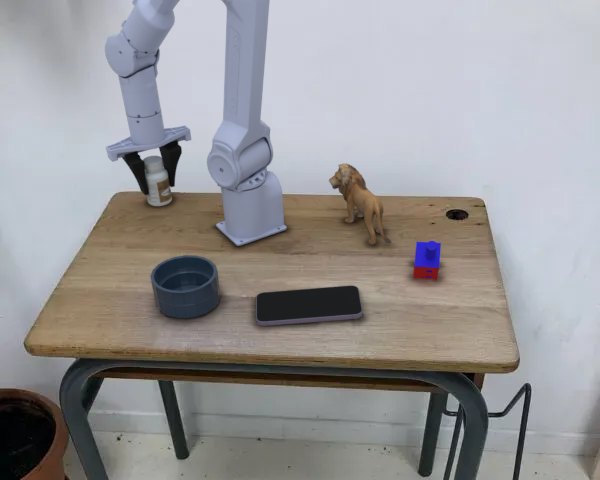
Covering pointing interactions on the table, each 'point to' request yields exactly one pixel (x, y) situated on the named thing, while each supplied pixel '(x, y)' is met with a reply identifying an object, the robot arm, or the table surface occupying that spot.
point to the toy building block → (427, 260)
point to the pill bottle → (157, 181)
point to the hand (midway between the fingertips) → (158, 188)
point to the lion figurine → (359, 199)
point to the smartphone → (308, 305)
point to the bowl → (186, 286)
